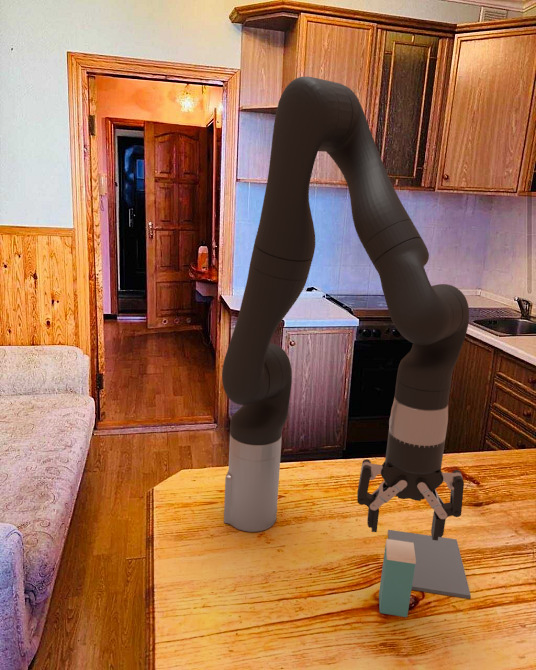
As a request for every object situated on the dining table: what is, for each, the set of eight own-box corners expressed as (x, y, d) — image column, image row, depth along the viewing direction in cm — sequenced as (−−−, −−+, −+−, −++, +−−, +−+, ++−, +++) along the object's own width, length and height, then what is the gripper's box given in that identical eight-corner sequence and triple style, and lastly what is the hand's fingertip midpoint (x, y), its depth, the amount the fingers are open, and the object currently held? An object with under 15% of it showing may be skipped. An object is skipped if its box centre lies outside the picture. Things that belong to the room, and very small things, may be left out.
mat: (391, 586, 89) (391, 583, 89) (387, 532, 103) (388, 529, 102) (470, 598, 88) (470, 595, 87) (456, 542, 101) (456, 539, 101)
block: (379, 612, 84) (387, 556, 81) (379, 593, 88) (386, 538, 85) (407, 617, 83) (415, 560, 80) (405, 597, 87) (413, 542, 84)
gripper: (364, 437, 75) (353, 542, 79) (476, 449, 73) (459, 556, 77) (364, 414, 82) (354, 511, 86) (466, 424, 80) (451, 524, 84)
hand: (404, 533), depth 82 cm, fingers open, 8 cm apart
